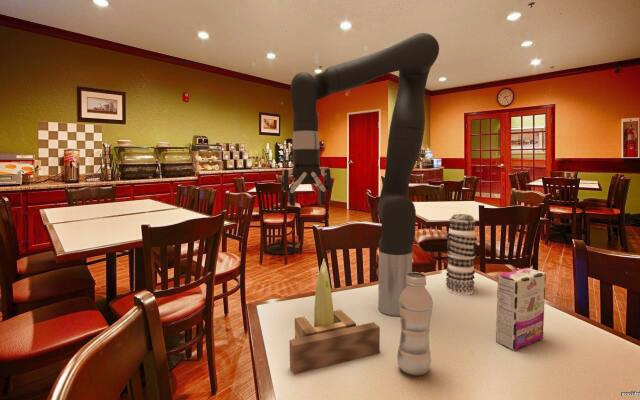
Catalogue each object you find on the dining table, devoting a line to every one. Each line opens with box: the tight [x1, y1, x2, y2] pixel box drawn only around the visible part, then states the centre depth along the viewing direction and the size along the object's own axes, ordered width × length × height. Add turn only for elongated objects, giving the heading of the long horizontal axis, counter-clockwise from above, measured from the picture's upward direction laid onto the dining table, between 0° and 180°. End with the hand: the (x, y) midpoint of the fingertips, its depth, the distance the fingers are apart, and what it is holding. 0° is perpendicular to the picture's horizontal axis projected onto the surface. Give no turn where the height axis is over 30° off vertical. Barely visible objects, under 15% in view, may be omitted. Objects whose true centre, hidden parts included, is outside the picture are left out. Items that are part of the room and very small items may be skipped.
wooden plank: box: [288, 322, 381, 375], centre depth 73 cm, size 20×2×6 cm, turn 112°
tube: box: [313, 258, 334, 327], centre depth 79 cm, size 6×5×20 cm
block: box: [294, 309, 357, 339], centre depth 79 cm, size 12×8×6 cm, turn 112°
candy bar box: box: [495, 267, 547, 352], centre depth 80 cm, size 11×5×16 cm, turn 117°
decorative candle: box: [445, 213, 478, 296], centre depth 111 cm, size 9×9×25 cm
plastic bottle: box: [396, 271, 434, 376], centre depth 69 cm, size 6×7×20 cm
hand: (306, 205), depth 98 cm, fingers open, 8 cm apart
